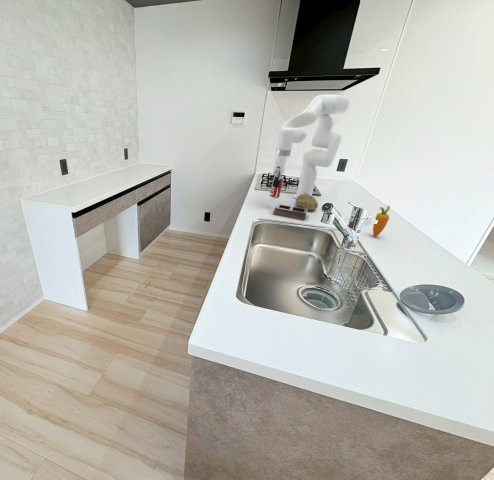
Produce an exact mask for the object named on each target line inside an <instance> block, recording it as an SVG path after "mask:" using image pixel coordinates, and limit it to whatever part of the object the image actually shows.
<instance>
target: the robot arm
mask: <svg viewBox="0 0 494 480" xmlns="http://www.w3.org/2000/svg"><path fill="white" fill-rule="evenodd" d="M349 107H350V100H349V98H348V97H346V96H343V95H340V94H319V95H317V96H315V97H314V98H313V99H312V100H311V102H310V103H309V104H308V106H306V108H305V109H304V110H303V111H302V112H300V113H298V114H296V115H294V116H293V117H291V118H289V119H288V120H287V121H285V122H284V124H283V125H282V126H281V128H280V130H279V131H278V134H277V138H278V140H277V144H276V149H275V156H276V157H275V161H274V165H273V170H272V175H274V176H275V178H274V177H273V178H274V182H273V181H272V182H273V187H279V183H280V176H281V177H283V175H284V173H285V171H286V167H287V163H288V159H289V157H291V152H292V148H293V144H300V143H303V142H304V141H305V139H306V138H307V131H306V130H305V128H303V127H306V126H310V125H312V124H314V123H315V122H317V125H316V128H315V131H314V133H313V136H312V139H311V146H312V147H314V148H310V149H307V150H305V151H304V153H303V156H302V167H301V172H300V176H299V181H298V184H297V189H296V193H295V194H293V196H292V198H293V199H295V200H296V199H297V197H298V196H300V195H302V194H309V195H310V196H312V197H313V192H314V189H315V185H316V181H317V178H318V168H317V167H321V168H329V167H330V166H332V164H333V163H334V161H335V158H336V155H337V154H338V152H339V151H338V150H339V148H340V146H341V143H342V139H343V138H342V134H341V133H340V132H338V131H332V129H333V127H334V118H333V117H332V115H343V114H345V113H346V112H347V111H348V109H349ZM317 148H319V149H317ZM324 149H327V150H324Z"/></svg>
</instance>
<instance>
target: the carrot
mask: <svg viewBox="0 0 494 480" xmlns="http://www.w3.org/2000/svg"><path fill="white" fill-rule="evenodd" d="M379 209H380V210H381V212H378V213H377V214H376V215H375V218H374V220H375V219H376V220H378V223H377V224H374V223H373V225H372V234H373V237H378V236H379V235H380V234H381V233H382V232H383V231H384V229H385V228H386V226H387V224H388V222H389V219H390V215H389V214H387V213H388V212H389V211H390V209H391V206H390V205H387V207H386V209H385V208H384V207H382V206H379Z"/></svg>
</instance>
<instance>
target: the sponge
mask: <svg viewBox="0 0 494 480" xmlns="http://www.w3.org/2000/svg"><path fill="white" fill-rule="evenodd" d="M295 202H296V204H297V205H298V207H300V208H306V209H308V211H314V210H316V209H317V208H318V206H319V203H318V201H317V199H316V198H315V197H314V196H313V195H312V196H310V195H309V194H302V195H300V196H298V197H297V199H295Z"/></svg>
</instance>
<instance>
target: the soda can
mask: <svg viewBox="0 0 494 480" xmlns="http://www.w3.org/2000/svg"><path fill="white" fill-rule="evenodd" d="M274 178H275V175H274V176H273V179H272V181H271V188H270V193H269V197H270V198H271V199H279V198H280V195H281V191H282V186H283V180H284V178H283V176H282V177H281V176H280V183H279V187H273V182H274Z"/></svg>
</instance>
